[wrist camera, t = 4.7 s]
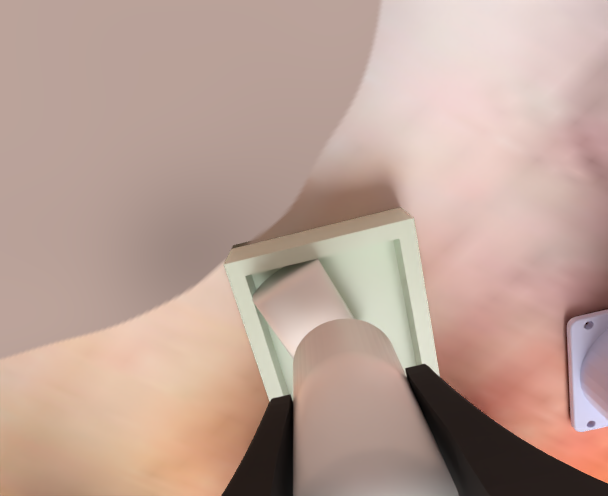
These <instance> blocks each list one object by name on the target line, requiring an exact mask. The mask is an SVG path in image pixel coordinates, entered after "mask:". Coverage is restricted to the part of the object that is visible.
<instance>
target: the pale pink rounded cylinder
mask: <svg viewBox="0 0 608 496" xmlns="http://www.w3.org/2000/svg"><path fill="white" fill-rule="evenodd" d="M252 300H253V302H254V304H255V305H256V307H257V308H258V310H259V311H260V312H261V314H262V315H263V317H264V318H265V320H266V321H267V322H268V324H269V325H270V327H271V328H272V330H273V331H274V333H275V334H276V335H277V337H278V338H279V340H280V341H281V343H282V344H283V345H284V347H285V348H286V350H287V351H288V353H289V354H290V356H291V357H292V358H293V359H294V355H295V351H296V349H297V347H298V345H299V343H300V342H301V340H302V339H303V338H304V337H305V336H306V335H307V334H308V333H309V332H310V331H311V330H313V329H314V328H315V327H317V326H319V325H321V324H323V323H325V322H328V321H332V320H336V319H346V318H349V319H355V318H354V317H353V315H352V314H351V312H350V310H349V309H348V307H347V305H346V304H345V302H344V300H343V299H342V297H341V296H340V294H339V292H338V291H337V289H336V287H335V286H334V284H333V283H332V281H331V279H330V278H329V276H328V274H327V273H326V271H325V269H324V268H323V266H322V265H321V263H320V261H319V260H318V258H317V259H313V260H309V261H305V262H301V263H297V264H293V265H289V266H285V267H283V268H281V269H280V270H278V271H277V272H275V273H274V274H272V275H271V276H270V277H269V278H267V279H266V280H265V281H264V282H263V283H262V284H261V285H260V286H259V287H258V289H257V290H256V291H255V293H254V295H253V298H252Z"/></svg>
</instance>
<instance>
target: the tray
mask: <svg viewBox="0 0 608 496" xmlns="http://www.w3.org/2000/svg"><path fill="white" fill-rule="evenodd" d="M249 242H250V241H248V242H244V243H240V244H236V245H233V247H232V249H231V251H230V253H229V255H228V257H227V259H226V261H225V263H224V267H225V270H226V273H227V276H228V279H229V282H230V285H231V288H232V291H233V294H234V297H235V300H236V303H237V306H238V309H239V312H240V315H241V318H242V321H243V324H244V327H245V330H246V333H247V336H248V339H249V342H250V345H251V348H252V351H253V354H254V357H255V360H256V363H257V366H258V369H259V372H260V375H261V378H262V381H263V384H264V387H265V390H266V393H267V396H268V399H269V402H270V400H271V399H272V398H276V397H281V396H285V395H289V394H291V397H292V401H293V358H292V357H291V356H290V354H289V353H288V351H287V350H286V348H285V347H284V345H283V344H282V343H281V341H280V340H279V338H278V337H277V335H276V334H275V333H274V331H273V330H272V328H271V327H270V325H269V324H268V322H267V321H266V320H265V318H264V317H263V315H262V314H261V312H260V311H259V310H258V308H257V307H256V305H255V304H254V302H253V300H252V298H253V295H254V293H255V291H256V290H257V289H258V287H259V286H260V285H261V284H262V283H263V282H264V281H265V280H266V279H267V278H269V277H270V276H271V275H272V274H274V273H275V272H277V271H278V270H280V269H281V268H283V267H285V266H289V265H293V264H297V263H301V262H305V261H309V260H313V259H317V258H318V260H319V261H320V263H321V265H322V266H323V268H324V269H325V271H326V273H327V274H328V276H329V278H330V279H331V281H332V283H333V284H334V286H335V287H336V289H337V291H338V292H339V294H340V296H341V297H342V299H343V300H344V302H345V304H346V305H347V307H348V309H349V310H350V312H351V314H352V315H353V317H354V318H355V319H358V320H362V321H365V322H368V323H370V324H372V325H374V326H376V327H377V328H379V329H380V330H381V331H382V332H384V333H385V335H386V336H387V337H388V338H389V340H390V341H391V343H392V345H393V348H394V350H395V352H396V354H397V357H398V359H399V361H400V363H401V365H402V368H403V370H404V372H405V374H406V370H405V368H408V367H412V366H417V365H421V364H426V365H428V366H429V367H430V368H431V369H432V370H433V371H434V372H435V373H436V374H437V375H438V376H439V377H440V374H439V368H438V362H437V356H436V350H435V344H434V337H433V331H432V325H431V319H430V313H429V307H428V301H427V295H426V289H425V283H424V277H423V271H422V264H421V258H420V252H419V246H418V240H417V234H416V228H415V222H414V218H413V217H412V216H411V215H409V214H408V213H407V212H406V211H404V210H403V209H402V208H401V207H399V208H395V209H391V210H387V211H383V212H379V213H375V214H371V215H367V216H363V217H359V218H355V219H351V220H347V221H342V222H338V223H334V224H330V225H326V226H322V227H318V228H314V229H310V230H306V231H302V232H298V233H294V234H290V235H286V236H282V237H278V238H274V239H270V240H266V241H261V242H257V243H253V244H249V245H246V244H247V243H249ZM406 377H407V375H406Z"/></svg>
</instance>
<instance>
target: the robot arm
mask: <svg viewBox="0 0 608 496" xmlns="http://www.w3.org/2000/svg"><path fill="white" fill-rule="evenodd" d="M588 321H589V322H588ZM586 322H588V324H587V325H585V323H586ZM584 325H585V326H584ZM567 344H568V368H569V391H570V415H571V425H572V427H573V428H574V429H575V430H576V431H578V432H584V431H588V430H593V429H598V428H602V427H607V426H608V309H607V310H603V311H598V312H594V313H589V314H585V315H581V316H576V317H573V318H571V319H570V320H569V321H568V323H567ZM405 370H406V375H407V379H408V381H409V383H410V386H411V388H412V390H413V392H414V394H415V397H416V399H417V401H418V403H419V406H420V408H421V410H422V412H423V415H424V417H425V419H426V421H427V424H428V426H429V428H430V430H431V432H432V435H433V437H434V439H435V441H436V444H437V446H438V448H439V450H440V453H441V455H442V457H443V459H444V462H445V464H446V466H447V468H448V470H449V473H450V475H451V477H452V479H453V482H454V484H455V486H456V488H457V491H458V495H459V496H608V484H607V483H605V482H603V481H601V480H598V479H596V478H594V477H592V476H589V475H587V474H585V473H583V472H581V471H579V470H577V469H575V468H573V467H571V466H569V465H567V464H565V463H563V462H561V461H559V460H557V459H556V458H554V457H552V456H550V455H548V454H546V453H544V452H543V451H541V450H539V449H537V448H536V447H534V446H532V445H530V444H529V443H527V442H526V441H524V440H522V439H521V438H519V437H517V436H516V435H514V434H513V433H511V432H510V431H508V430H507V429H505V428H504V427H502V426H501V425H499V424H498V423H497V422H495V421H494V420H492V419H491V418H490V417H488V416H487V415H485V414H484V413H483V412H481V411H480V410H479V409H477V408H476V407H475V406H474V405H472V404H471V403H470V402H469V401H467V400H466V399H465V398H464V397H462V396H461V395H460V394H459V393H457V392H456V391H455V390H454V389H453V388H452V387H450V386H449V385H448V384H447V383H446V382H445V381H444V380H443V379H442V378H440V377H439V376H438V375H437V374H436V373H435V372H434V371H433V370H432V369H431V368H430V367H429V366H428V365H426V364H421V365H417V366H412V367H408V368H405ZM222 496H293V401H292V397H291V394H289V395H285V396H281V397H276V398H272V399H271V400H270V402H269V404H268V407H267V409H266V411H265V414H264V416H263V418H262V421H261V423H260V425H259V427H258V429H257V432H256V434H255V436H254V438H253V440H252V442H251V444H250V446H249V448H248V450H247V452H246V454H245V456H244V458H243V460H242V461H241V463H240V465H239V467H238V468H237V470H236V472H235V474H234V476H233V477H232V479H231V481H230V483H229V484H228V486H227V488H226V489H225V491H224V492H223V494H222Z"/></svg>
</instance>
